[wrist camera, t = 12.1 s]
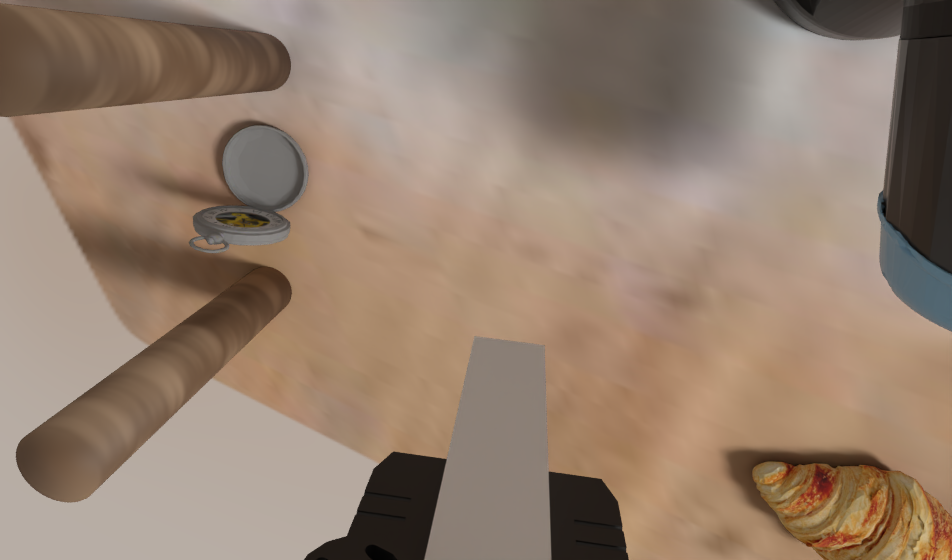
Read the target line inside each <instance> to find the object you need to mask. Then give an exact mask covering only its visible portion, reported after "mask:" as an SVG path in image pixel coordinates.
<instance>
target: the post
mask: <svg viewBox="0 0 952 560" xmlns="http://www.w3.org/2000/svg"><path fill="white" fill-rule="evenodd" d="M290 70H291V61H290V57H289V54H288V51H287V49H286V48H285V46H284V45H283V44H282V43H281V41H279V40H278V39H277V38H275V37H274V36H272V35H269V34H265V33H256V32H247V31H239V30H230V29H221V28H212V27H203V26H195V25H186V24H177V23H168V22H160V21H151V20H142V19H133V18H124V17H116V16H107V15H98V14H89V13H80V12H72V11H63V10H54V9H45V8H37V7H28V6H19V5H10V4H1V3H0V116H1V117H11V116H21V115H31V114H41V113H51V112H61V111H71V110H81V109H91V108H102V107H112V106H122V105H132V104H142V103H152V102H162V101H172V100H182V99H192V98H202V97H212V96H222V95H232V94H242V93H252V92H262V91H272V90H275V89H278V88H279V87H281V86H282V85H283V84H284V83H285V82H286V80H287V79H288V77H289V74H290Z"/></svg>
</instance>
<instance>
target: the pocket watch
mask: <svg viewBox="0 0 952 560" xmlns="http://www.w3.org/2000/svg"><path fill="white" fill-rule="evenodd" d="M222 165H223V172H224V176H225V180H226V182H227V184H228V186H229V188H230V190H231V191H232V192H233V193H234V195H235V196H236V197H237V198H238V199H239V200H240V201H242V202H243V203H244V204H246V205H247V206H217V207H211V208H207V209H204V210H201V211H200V212H198V213H196V214H195V215H194V216H193V226H194V228H195V231H196V232H197V233H198V234H199V235H201V236H199V237H195V238H193V239H191V240H190V241H189V244H190V246H191V247H193V248H194V249H195V250H198V251H202V252H207V253H219V252H224V251H226V250H228V249H229V244H235V245H266V244H273V243H276V242H280V241H282V240H284V239H286V238H287V237H288V234H289V232H290V222H289V221H288V220H287V219H285V218H284V217H283V216H281V215H279V214H277V213H276V212H277V211H281V210H284V209H286V208H289V207H290V206H292V205H293V204H294V203H296V202H297V201H298V200H299V199H300V197H301V196H302V194H303V193H304V191H305V189H306V186H307V182H308V165H307V161H306V158H305V155H304V153H303V152H302V150H301V148H300V146H299V145H298V144H297V143H296V141H295V140H294V139H293V138H292V137H291V136H289V135H288V134H286V133H285V132H284V131H282V130H279V129H277V128H275V127H271V126H266V125H253V126H250V127H247V128H245V129H242V130H240V131H239V132H237V133H236V134H235V135H234V136H233V137H232V138H231V139H230V140H229V142H228V143H227V145H226V147H225V150H224V153H223V162H222ZM230 224H234V226H233V225H230ZM202 239H206V241H207V243H208V244H211V245H212V244H214V245H215V244H221V243H223V244H224V245H225V247H224V248H221V249H217V250H208V249H202V248H200V247H197V246H195V245H194V241H197V240H202Z"/></svg>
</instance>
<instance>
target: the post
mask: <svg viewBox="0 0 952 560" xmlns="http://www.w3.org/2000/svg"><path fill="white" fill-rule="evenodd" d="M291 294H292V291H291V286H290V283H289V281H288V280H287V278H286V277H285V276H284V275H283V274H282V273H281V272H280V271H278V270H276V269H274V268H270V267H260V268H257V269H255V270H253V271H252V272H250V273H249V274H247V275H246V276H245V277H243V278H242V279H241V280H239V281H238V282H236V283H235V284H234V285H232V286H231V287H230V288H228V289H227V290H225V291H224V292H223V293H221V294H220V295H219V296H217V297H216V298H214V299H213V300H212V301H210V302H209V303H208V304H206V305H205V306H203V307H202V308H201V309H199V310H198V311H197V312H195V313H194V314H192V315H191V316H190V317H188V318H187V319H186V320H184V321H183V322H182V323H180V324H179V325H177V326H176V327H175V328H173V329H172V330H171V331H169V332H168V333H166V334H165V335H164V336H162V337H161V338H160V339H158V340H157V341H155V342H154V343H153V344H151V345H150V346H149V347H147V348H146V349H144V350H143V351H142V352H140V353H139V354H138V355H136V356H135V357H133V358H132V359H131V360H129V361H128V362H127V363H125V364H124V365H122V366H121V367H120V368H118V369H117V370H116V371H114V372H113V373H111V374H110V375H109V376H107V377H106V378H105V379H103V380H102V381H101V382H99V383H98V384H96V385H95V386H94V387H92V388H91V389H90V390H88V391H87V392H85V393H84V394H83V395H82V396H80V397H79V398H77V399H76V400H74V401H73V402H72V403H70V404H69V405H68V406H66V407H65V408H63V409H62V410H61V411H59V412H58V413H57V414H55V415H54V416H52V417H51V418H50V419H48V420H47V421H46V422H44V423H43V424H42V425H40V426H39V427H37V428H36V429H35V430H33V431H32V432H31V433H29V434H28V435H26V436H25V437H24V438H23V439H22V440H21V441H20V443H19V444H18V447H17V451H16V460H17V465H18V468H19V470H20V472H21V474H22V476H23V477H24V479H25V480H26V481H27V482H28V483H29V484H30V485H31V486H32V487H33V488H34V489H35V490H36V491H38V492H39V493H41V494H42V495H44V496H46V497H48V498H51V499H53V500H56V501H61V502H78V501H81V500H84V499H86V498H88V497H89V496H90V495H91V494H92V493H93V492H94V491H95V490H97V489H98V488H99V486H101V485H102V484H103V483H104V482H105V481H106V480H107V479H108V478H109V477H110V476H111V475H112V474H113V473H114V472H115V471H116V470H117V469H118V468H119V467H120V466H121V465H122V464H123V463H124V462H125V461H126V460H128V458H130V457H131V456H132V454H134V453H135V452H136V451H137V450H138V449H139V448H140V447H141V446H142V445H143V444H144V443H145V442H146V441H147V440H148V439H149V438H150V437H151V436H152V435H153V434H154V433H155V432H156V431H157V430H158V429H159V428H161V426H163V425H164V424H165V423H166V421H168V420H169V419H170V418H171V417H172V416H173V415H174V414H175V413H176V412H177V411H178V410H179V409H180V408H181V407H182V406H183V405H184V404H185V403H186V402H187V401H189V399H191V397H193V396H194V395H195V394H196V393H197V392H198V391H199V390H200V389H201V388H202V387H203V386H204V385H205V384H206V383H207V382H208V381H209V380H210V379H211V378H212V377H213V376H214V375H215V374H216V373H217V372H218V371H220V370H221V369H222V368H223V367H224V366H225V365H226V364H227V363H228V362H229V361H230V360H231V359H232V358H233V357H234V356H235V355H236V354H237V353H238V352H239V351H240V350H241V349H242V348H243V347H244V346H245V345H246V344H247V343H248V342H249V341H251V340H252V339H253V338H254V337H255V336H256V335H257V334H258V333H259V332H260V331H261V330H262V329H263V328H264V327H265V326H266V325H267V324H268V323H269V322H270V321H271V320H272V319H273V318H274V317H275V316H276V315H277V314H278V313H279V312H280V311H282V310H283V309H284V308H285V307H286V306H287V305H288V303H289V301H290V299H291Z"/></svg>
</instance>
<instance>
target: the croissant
mask: <svg viewBox="0 0 952 560" xmlns="http://www.w3.org/2000/svg"><path fill="white" fill-rule="evenodd" d="M752 474H753V480H754V482H756V483H757V485H756V487H757V489H758V490H759V491H760V494H761V497H762V498H763V499H764V500H765V501H766V502H767V503H768V505H769V506H770V507H771V508H772V509H773V510H774V511H775V512H776V513H777V515H778V517H779V519H780V521H781V523H782V524H783V525H784V527H785V528H786V529H787V530H788V531H789V532H790V533H791V534H792V535H793V536H795V537H796V538H797V539H798V540H800V541H801V542H803V543H805V544H806V545H807V546H808V547H812V548H813V549H814V550H815V551H816V552H817V553H818V554H819V555H820V556H821V557H822V558H823V559H824V560H952V517H951V516H950V515H949V513H948V512H947V511H946V510H944V508H943V506H942V505H941V504H940V503H939V501H938V500H937V499H935V498H934V497H932V496H931V495H930V494H928V493H927V492H925V491H924V490H923V488H922V486H921V485H920V484H919V483H918V482H917V480H916V479H914V478H912V477H910V476H908V475H906V474H904V473H902V472H900V471H884V470H880V469H879V468H877V467H874V466H867V465H859V466H843V467H841V466H837V467H836V468H832V467H830V466H829V465H828V464H816V463H813V464H808V465H800V464H799V465H798V466H796V467H795V466H793V465H791V464H787V463H785V462H772V461H771V462H764V463H761V464H759V465H757V466H755V467H754V468H753V470H752Z"/></svg>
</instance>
